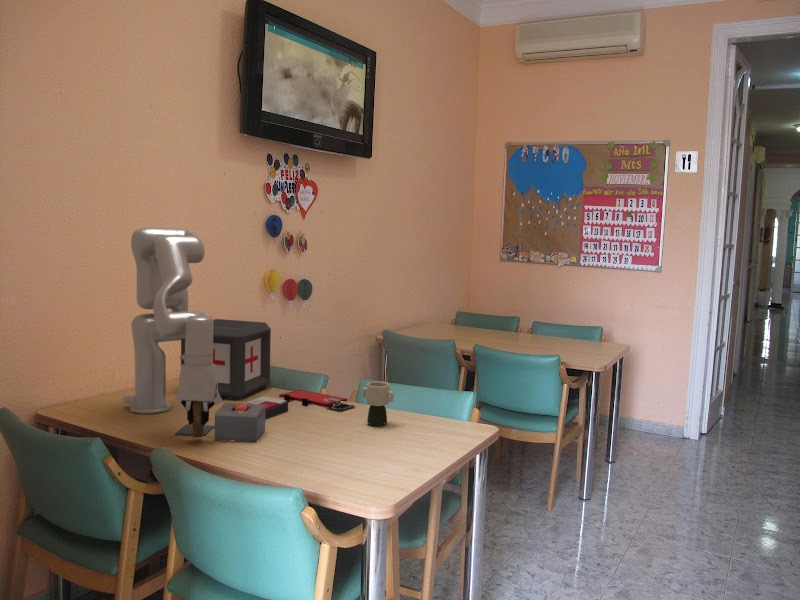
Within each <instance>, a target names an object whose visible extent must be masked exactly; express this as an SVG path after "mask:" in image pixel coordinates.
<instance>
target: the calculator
mask: <svg viewBox="0 0 800 600" xmlns="http://www.w3.org/2000/svg"><path fill="white" fill-rule="evenodd" d="M242 404H263V405H266V406H265V421H266V420H267V419H268V420H269V419H271V418H274V417H276V416H278V415H281V414H284V413H287V412H289V402H288V401H286V400H284V399H279V398H273V397H267V396H260V397H257V398H256V399H255V398H254V399H251V400H249V401H246V402H244V403H242Z"/></svg>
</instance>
